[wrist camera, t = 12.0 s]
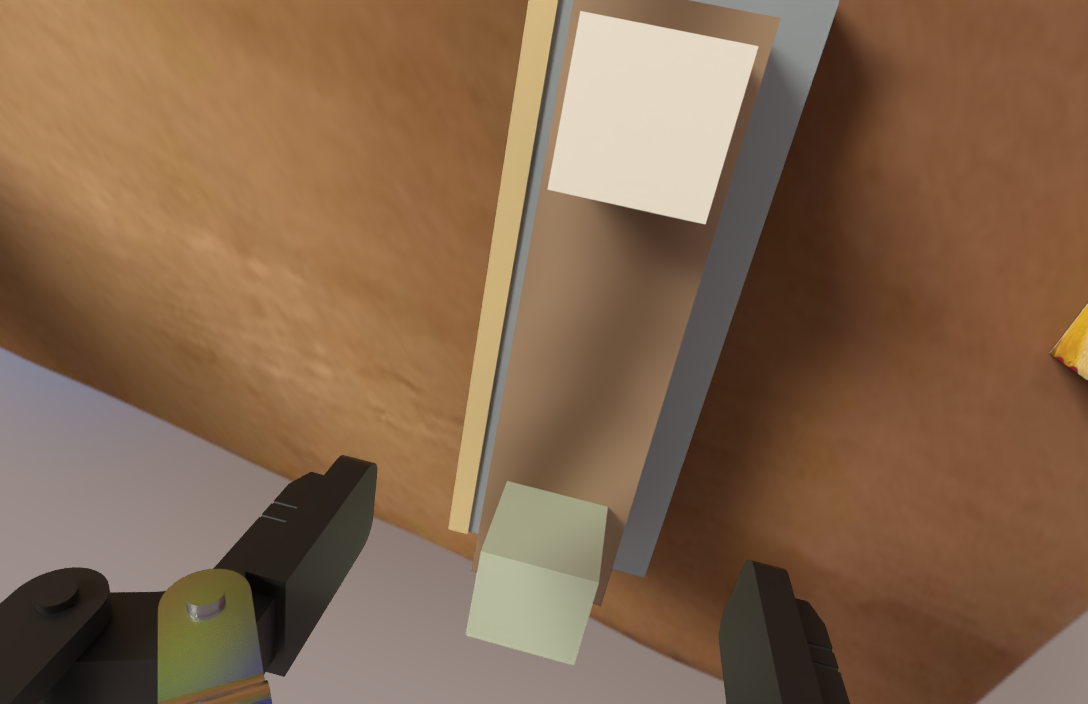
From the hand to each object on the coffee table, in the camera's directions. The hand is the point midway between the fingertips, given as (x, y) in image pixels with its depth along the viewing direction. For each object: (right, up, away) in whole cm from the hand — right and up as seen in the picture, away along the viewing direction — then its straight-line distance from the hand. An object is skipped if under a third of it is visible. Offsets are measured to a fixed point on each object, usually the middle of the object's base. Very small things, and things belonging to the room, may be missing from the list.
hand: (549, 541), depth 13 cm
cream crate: (+3, +11, +5) cm, 12 cm away
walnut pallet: (+2, +6, +12) cm, 14 cm away
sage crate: (0, -3, +12) cm, 12 cm away
